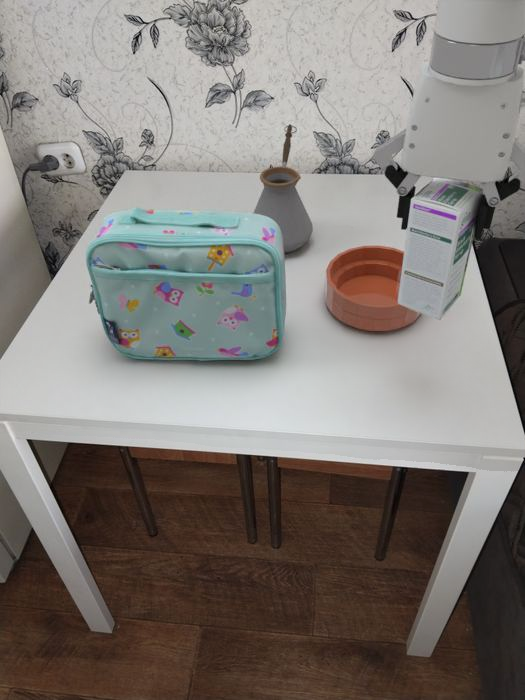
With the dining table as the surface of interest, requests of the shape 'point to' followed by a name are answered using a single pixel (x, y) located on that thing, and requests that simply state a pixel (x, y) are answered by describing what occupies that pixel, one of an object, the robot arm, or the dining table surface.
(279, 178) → the coffee pot
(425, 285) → the syrup box
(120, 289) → the lunch box
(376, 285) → the bowl
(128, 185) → the dining table surface
